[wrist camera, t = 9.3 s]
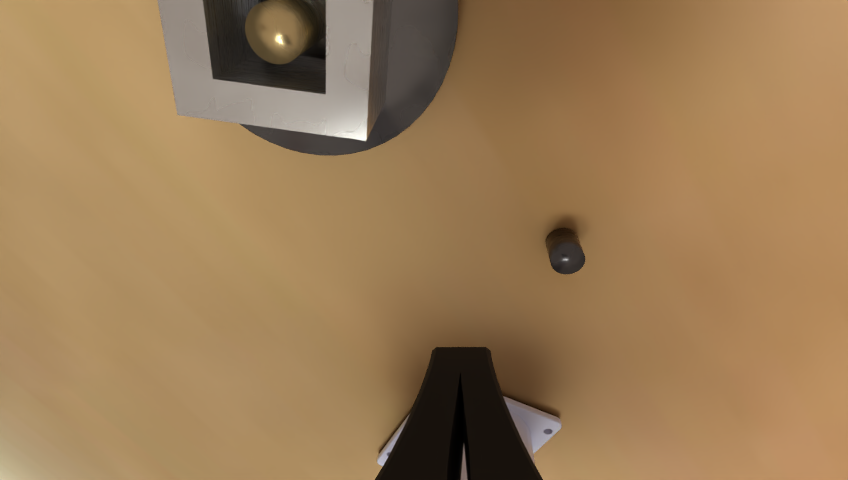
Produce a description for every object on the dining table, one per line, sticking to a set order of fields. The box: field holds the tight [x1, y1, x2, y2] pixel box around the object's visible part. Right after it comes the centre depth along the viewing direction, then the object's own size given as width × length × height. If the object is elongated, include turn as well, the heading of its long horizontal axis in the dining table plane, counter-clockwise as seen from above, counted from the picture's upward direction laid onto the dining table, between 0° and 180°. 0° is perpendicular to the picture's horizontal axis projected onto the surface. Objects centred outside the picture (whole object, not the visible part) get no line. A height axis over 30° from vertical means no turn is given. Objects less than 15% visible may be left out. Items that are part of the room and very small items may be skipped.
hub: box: [239, 0, 458, 155], centre depth 15 cm, size 10×10×4 cm
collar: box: [158, 0, 392, 141], centre depth 14 cm, size 6×6×4 cm
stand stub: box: [546, 228, 585, 274], centre depth 20 cm, size 1×1×2 cm
